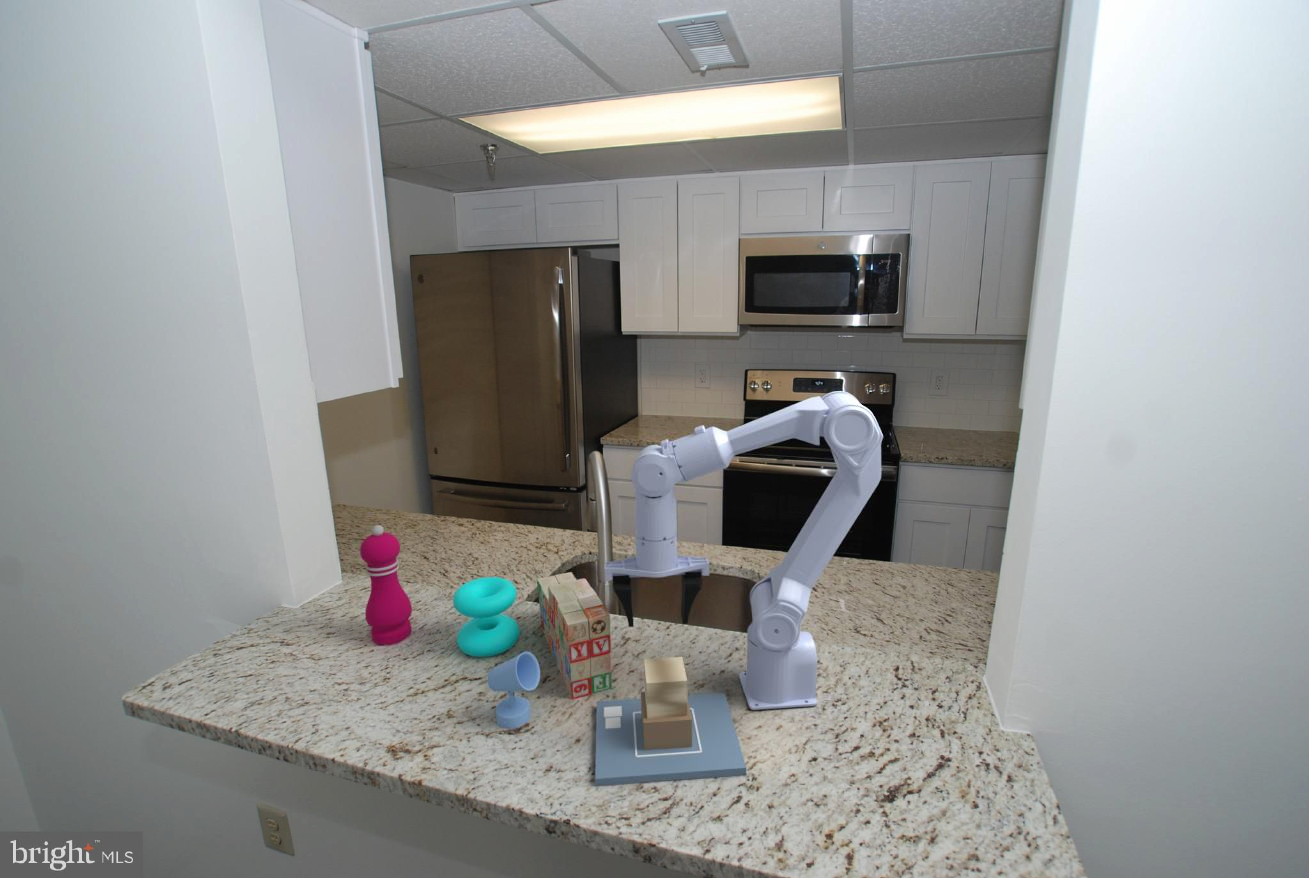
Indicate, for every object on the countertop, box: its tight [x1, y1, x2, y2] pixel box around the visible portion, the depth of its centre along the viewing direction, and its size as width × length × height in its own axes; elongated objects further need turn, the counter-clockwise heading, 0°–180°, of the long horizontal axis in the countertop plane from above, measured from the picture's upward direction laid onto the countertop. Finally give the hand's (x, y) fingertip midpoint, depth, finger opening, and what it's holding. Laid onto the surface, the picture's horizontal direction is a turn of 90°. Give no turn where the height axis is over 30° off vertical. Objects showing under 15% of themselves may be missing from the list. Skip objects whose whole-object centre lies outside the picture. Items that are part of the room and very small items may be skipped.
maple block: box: [643, 656, 688, 719], centre depth 79 cm, size 5×5×5 cm
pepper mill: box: [359, 524, 413, 646], centre depth 103 cm, size 7×7×20 cm
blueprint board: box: [594, 691, 747, 787], centre depth 80 cm, size 18×14×5 cm
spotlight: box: [487, 651, 541, 729], centre depth 84 cm, size 5×10×7 cm
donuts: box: [452, 576, 521, 658], centre depth 102 cm, size 10×10×10 cm
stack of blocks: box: [536, 571, 613, 700], centre depth 98 cm, size 21×6×12 cm, turn 22°
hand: (657, 621), depth 89 cm, fingers open, 7 cm apart
